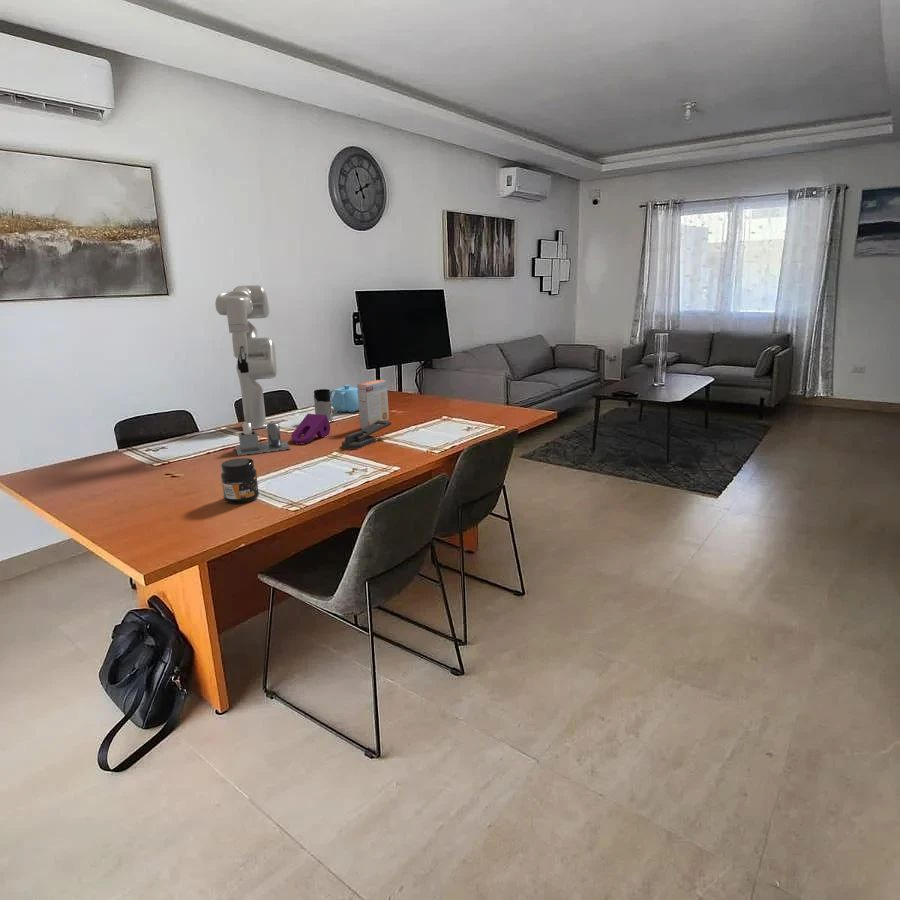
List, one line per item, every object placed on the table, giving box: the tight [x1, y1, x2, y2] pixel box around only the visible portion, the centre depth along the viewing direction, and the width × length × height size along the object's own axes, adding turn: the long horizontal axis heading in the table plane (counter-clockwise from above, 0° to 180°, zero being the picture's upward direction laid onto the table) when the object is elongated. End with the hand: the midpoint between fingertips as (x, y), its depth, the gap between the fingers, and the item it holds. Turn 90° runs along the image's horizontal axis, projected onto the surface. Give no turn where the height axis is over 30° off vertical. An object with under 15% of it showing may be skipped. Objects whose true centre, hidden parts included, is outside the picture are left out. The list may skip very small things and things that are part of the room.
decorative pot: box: [330, 384, 359, 414], centre depth 310 cm, size 16×16×14 cm
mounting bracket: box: [290, 413, 331, 445], centre depth 256 cm, size 9×8×18 cm
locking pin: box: [242, 422, 253, 435], centre depth 239 cm, size 3×3×10 cm
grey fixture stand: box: [234, 422, 291, 457], centre depth 241 cm, size 12×20×10 cm, turn 114°
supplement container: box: [220, 457, 260, 505], centre depth 185 cm, size 10×10×12 cm
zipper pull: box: [341, 420, 392, 450], centre depth 250 cm, size 9×7×25 cm
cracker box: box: [356, 379, 390, 430], centre depth 273 cm, size 14×6×21 cm, turn 144°
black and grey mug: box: [313, 388, 343, 421], centre depth 287 cm, size 9×14×15 cm, turn 96°
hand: (243, 371), depth 244 cm, fingers open, 9 cm apart
